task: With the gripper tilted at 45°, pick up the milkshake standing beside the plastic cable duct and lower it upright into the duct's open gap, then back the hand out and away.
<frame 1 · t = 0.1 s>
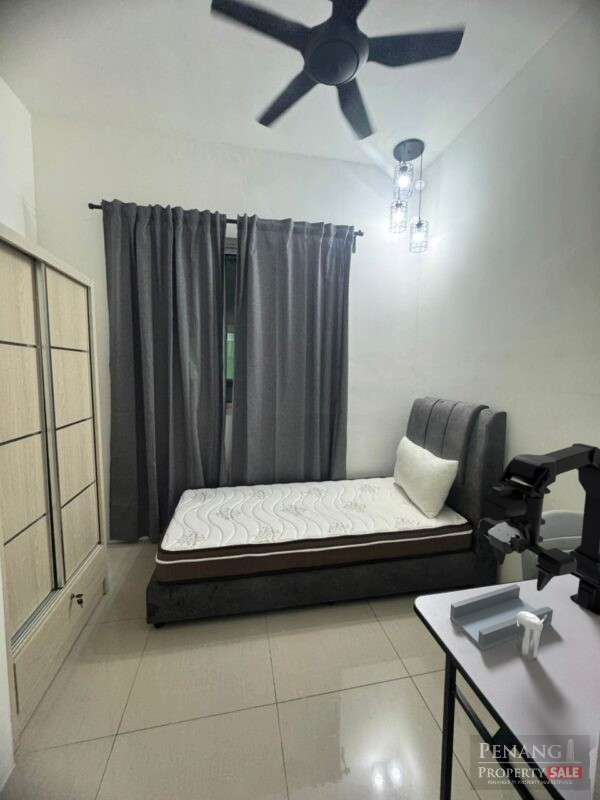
hand: (518, 576, 73), 15 cm above the table, tool pointing down, fingers open, 9 cm apart
cable duct: (500, 621, 79), on the table
milkshake: (528, 654, 70), on the table
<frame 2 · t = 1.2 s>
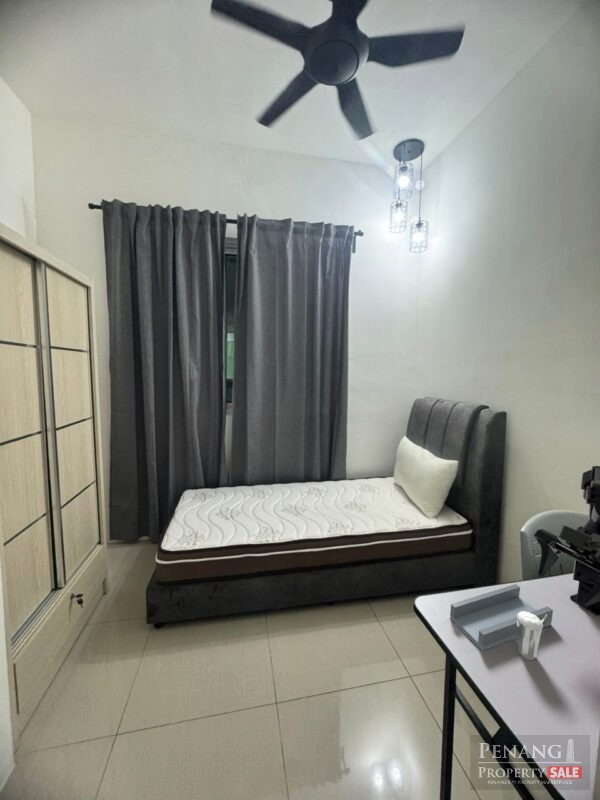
hand: (561, 589, 71), 13 cm above the table, tool tilted 45°, fingers open, 9 cm apart
nothing on the table moved.
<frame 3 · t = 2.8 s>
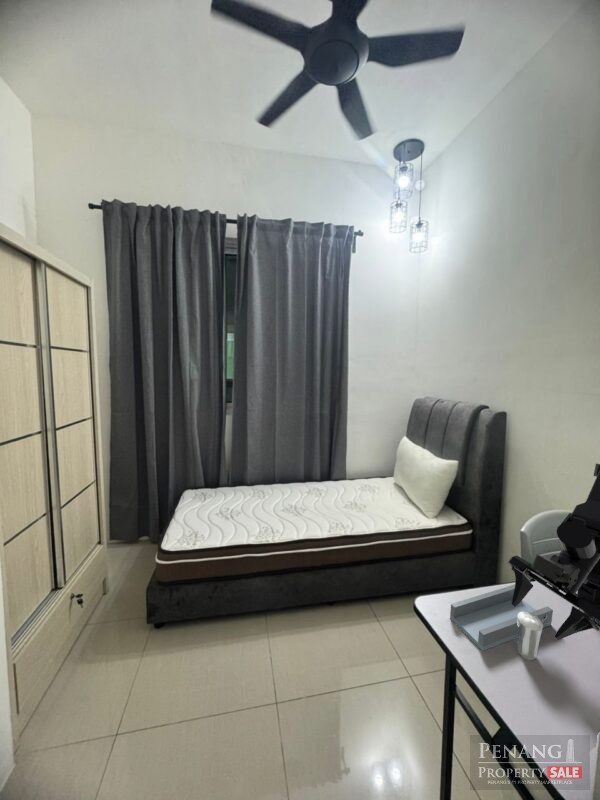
hand: (533, 620, 69), 8 cm above the table, tool tilted 45°, fingers open, 9 cm apart
nothing on the table moved.
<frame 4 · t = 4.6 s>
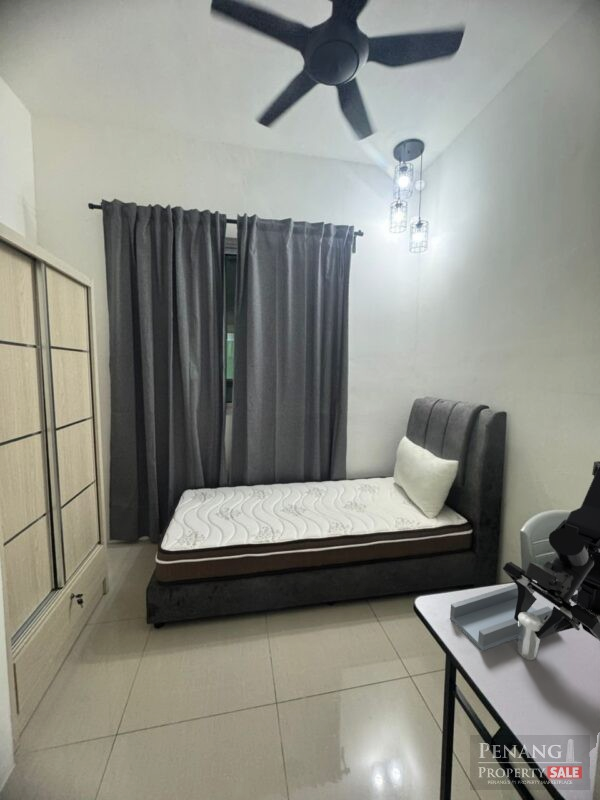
hand: (526, 628, 69), 7 cm above the table, tool tilted 45°, fingers closed on milkshake, 4 cm apart
milkshake: (528, 654, 70), on the table, touching gripper
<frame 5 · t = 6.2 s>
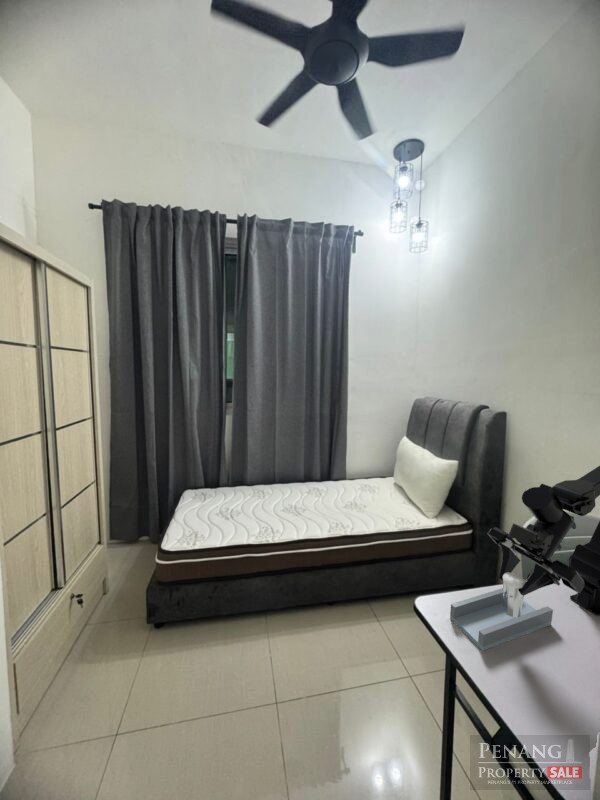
hand: (510, 586, 72), 13 cm above the table, tool tilted 45°, fingers closed on milkshake, 4 cm apart
milkshake: (513, 613, 73), point 6 cm above the table, touching gripper
when the fingers open (9 cm above the table, at t = 8.3 s): milkshake drops 1 cm, resting on cable duct.
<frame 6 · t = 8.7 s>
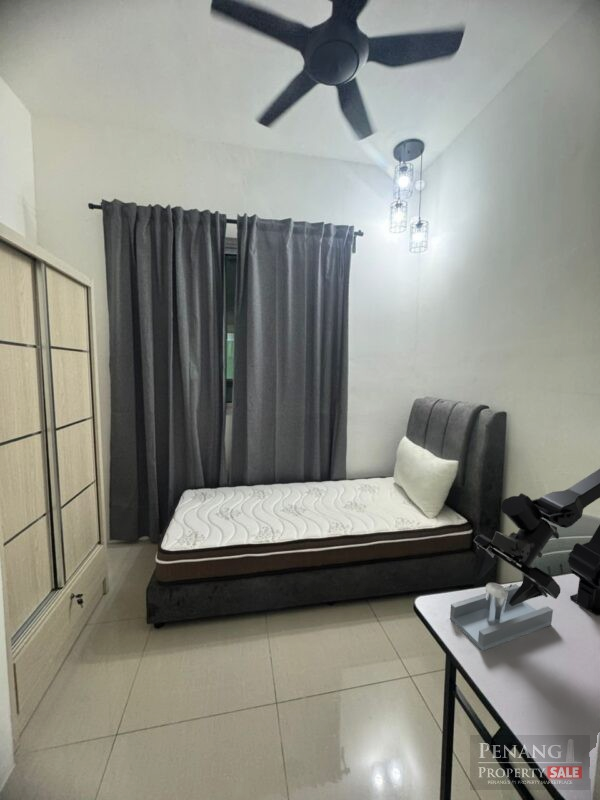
hand: (492, 591, 76), 9 cm above the table, tool tilted 45°, fingers open, 9 cm apart
milkshake: (495, 621, 78), point 1 cm above the table, touching cable duct
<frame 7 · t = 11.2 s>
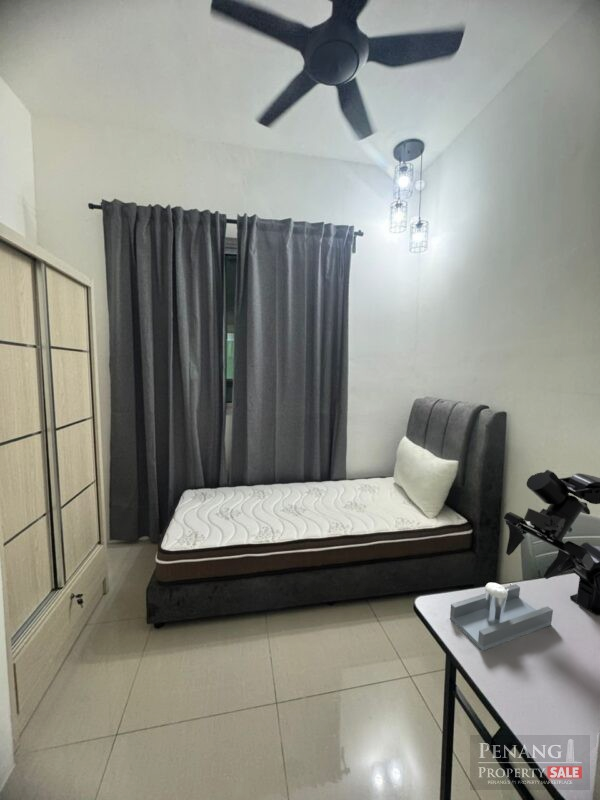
hand: (525, 565, 79), 14 cm above the table, tool tilted 45°, fingers open, 9 cm apart
nothing on the table moved.
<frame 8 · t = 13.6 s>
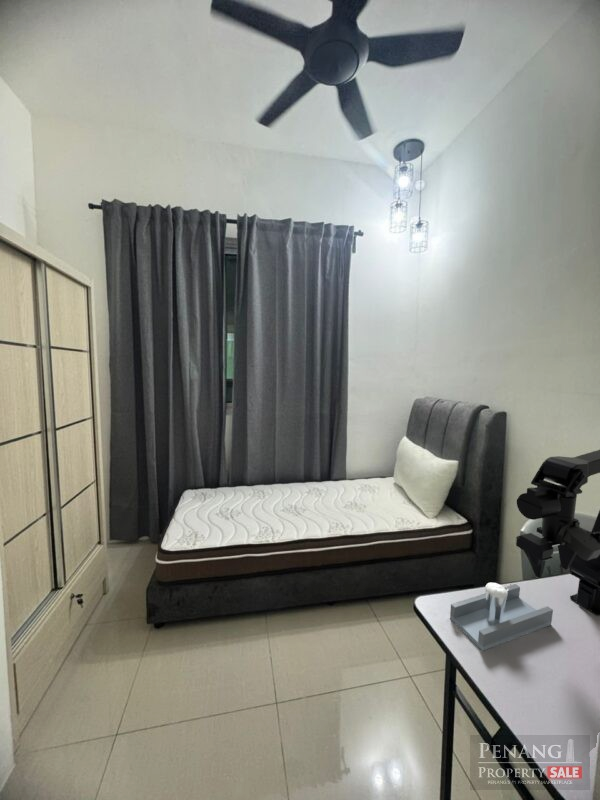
hand: (551, 572, 77), 13 cm above the table, tool pointing down, fingers open, 9 cm apart
nothing on the table moved.
at the end: milkshake inside the target area on the cable duct (1.9 cm from its centre), point 0.8 cm above the cable duct's base; milkshake tilted 0°; the gripper is holding nothing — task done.
